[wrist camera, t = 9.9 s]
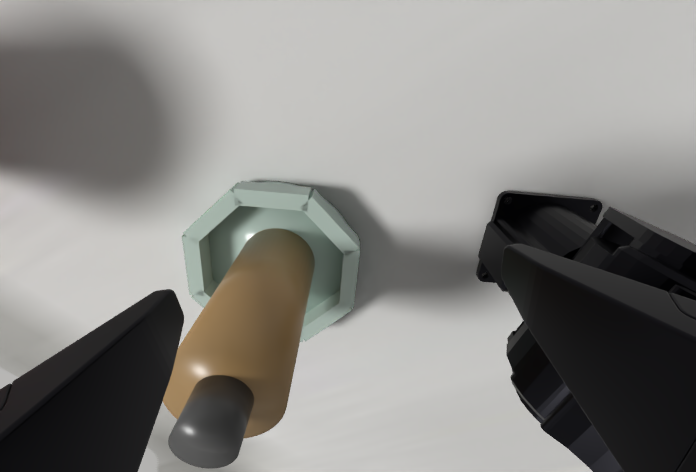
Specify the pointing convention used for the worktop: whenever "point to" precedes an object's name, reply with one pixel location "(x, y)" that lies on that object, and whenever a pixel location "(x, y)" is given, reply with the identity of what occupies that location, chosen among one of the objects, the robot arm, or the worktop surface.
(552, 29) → the worktop surface
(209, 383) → the bottle
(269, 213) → the dish
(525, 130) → the worktop surface
